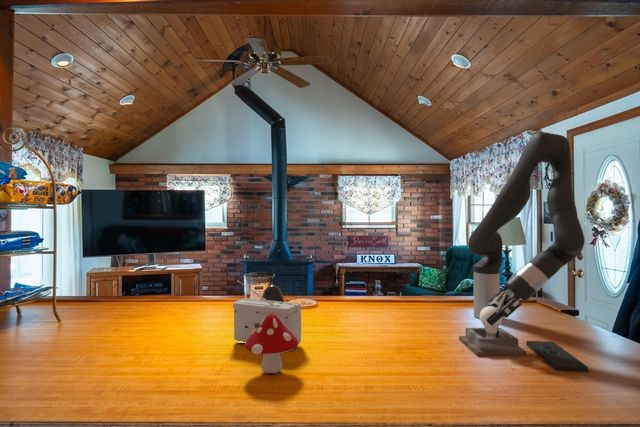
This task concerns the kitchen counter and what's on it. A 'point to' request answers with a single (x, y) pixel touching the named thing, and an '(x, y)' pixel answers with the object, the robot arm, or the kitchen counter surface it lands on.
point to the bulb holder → (491, 343)
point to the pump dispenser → (273, 294)
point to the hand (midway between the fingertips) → (485, 319)
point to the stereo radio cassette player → (256, 310)
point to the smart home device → (556, 356)
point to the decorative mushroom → (271, 343)
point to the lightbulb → (489, 328)
